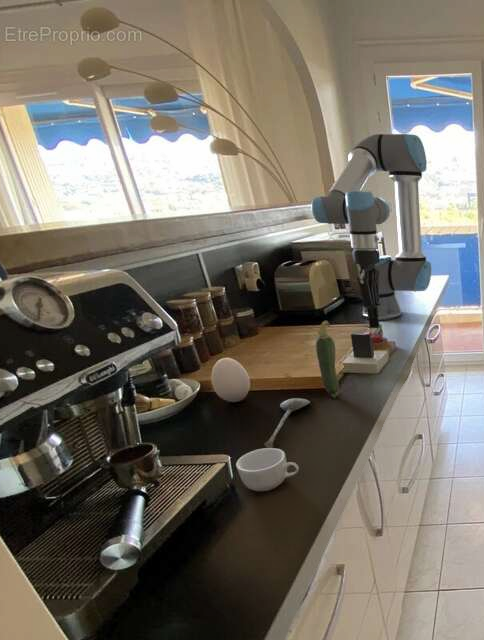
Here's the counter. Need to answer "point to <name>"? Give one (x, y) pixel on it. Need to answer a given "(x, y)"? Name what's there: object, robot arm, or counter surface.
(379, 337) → the button
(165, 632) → the counter surface
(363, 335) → the dark grey block
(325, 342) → the vegetable
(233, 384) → the egg
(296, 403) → the soupspoon
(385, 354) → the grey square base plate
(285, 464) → the teacup
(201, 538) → the counter surface
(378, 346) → the button block
